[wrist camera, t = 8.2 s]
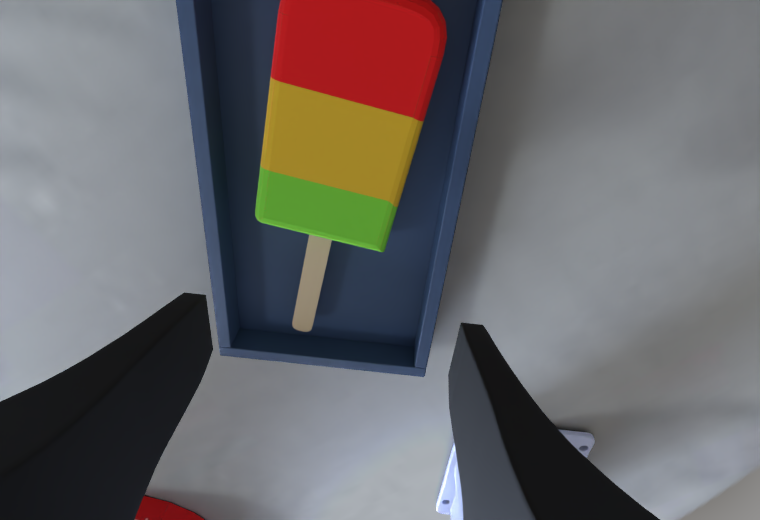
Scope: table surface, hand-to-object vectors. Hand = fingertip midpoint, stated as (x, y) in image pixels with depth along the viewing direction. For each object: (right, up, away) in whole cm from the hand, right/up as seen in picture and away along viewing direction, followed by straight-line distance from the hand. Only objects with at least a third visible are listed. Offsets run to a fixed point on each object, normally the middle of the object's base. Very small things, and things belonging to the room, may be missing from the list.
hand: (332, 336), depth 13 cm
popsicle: (-1, +5, +6) cm, 8 cm away
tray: (0, +6, +7) cm, 9 cm away
